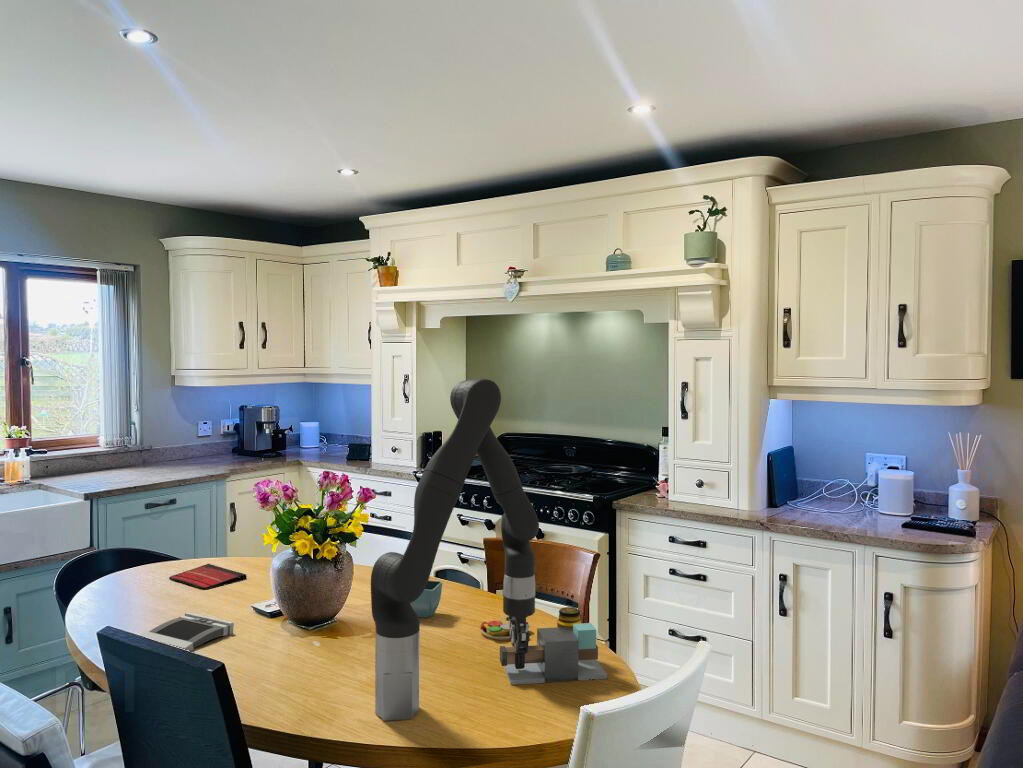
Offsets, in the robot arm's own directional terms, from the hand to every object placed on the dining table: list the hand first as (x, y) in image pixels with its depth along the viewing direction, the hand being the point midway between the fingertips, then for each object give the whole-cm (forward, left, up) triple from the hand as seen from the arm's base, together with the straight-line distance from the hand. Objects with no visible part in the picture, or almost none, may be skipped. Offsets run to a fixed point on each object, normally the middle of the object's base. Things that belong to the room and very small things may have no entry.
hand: (518, 664), depth 181 cm
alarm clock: (+36, +83, -3) cm, 90 cm away
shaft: (0, -7, +1) cm, 7 cm away
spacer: (0, -16, +4) cm, 16 cm away
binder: (+90, +89, -3) cm, 127 cm away
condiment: (+10, -14, -3) cm, 18 cm away
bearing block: (0, -9, -3) cm, 10 cm away
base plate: (0, -9, -3) cm, 9 cm away
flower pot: (+45, +20, -3) cm, 50 cm away
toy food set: (+28, -1, -3) cm, 29 cm away
